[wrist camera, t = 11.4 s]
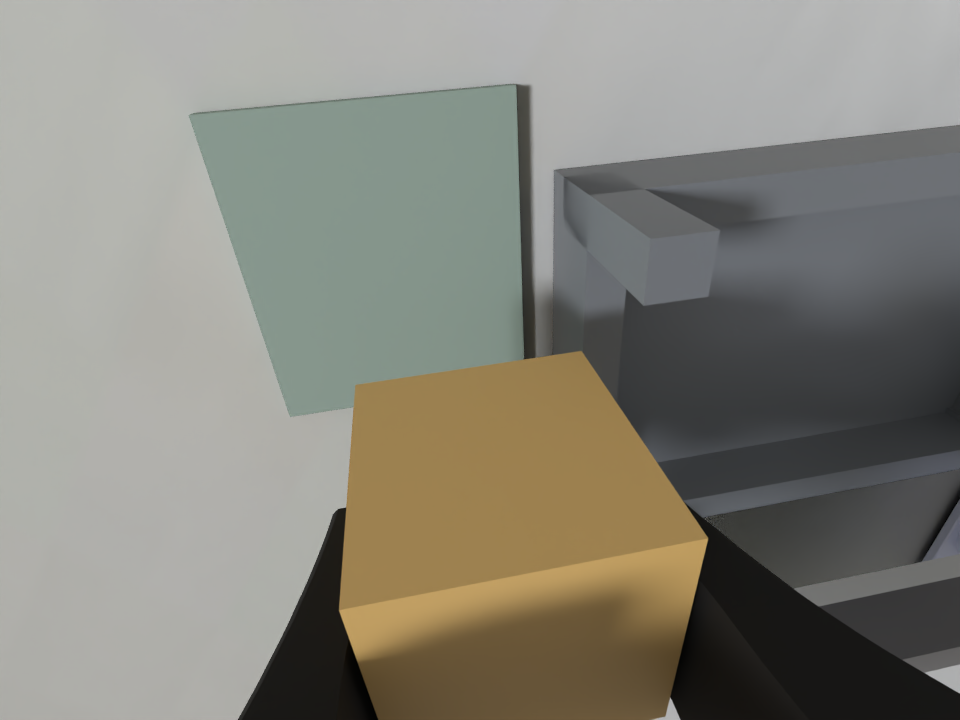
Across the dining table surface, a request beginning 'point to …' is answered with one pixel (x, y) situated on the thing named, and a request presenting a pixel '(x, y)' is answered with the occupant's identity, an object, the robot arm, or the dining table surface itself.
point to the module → (512, 549)
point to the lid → (899, 614)
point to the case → (772, 311)
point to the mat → (374, 234)
